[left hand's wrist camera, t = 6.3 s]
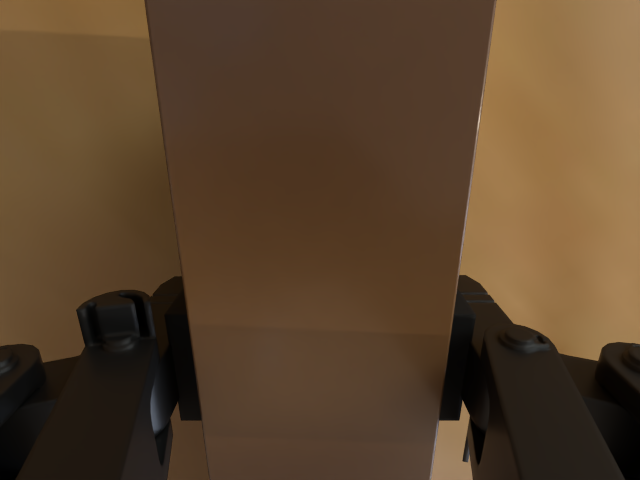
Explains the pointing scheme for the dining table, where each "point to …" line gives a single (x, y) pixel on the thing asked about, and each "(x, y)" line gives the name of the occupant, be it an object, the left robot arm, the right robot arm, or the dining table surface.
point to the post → (320, 221)
